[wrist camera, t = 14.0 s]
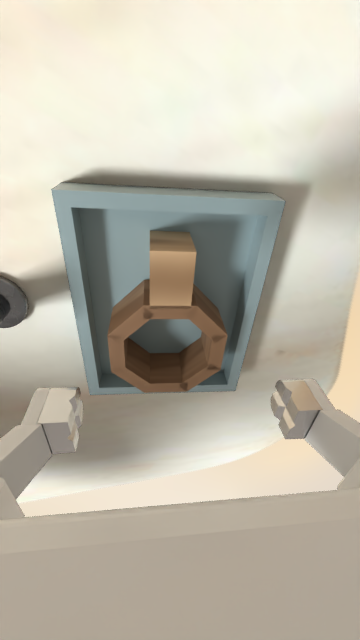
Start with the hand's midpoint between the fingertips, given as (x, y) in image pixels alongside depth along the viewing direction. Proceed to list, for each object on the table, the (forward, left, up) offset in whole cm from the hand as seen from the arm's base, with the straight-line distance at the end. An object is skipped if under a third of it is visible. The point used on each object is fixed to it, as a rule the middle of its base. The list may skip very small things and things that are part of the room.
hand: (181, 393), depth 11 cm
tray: (-4, 0, -14) cm, 15 cm away
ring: (-4, 0, -13) cm, 14 cm away
